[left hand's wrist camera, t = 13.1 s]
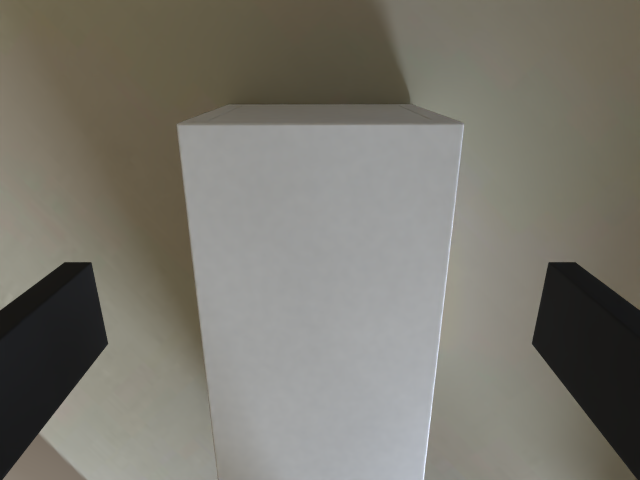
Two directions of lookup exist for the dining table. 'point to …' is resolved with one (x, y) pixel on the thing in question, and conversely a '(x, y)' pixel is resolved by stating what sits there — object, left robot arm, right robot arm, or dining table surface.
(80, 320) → the left robot arm
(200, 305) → the white rectangular block
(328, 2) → the dining table surface
